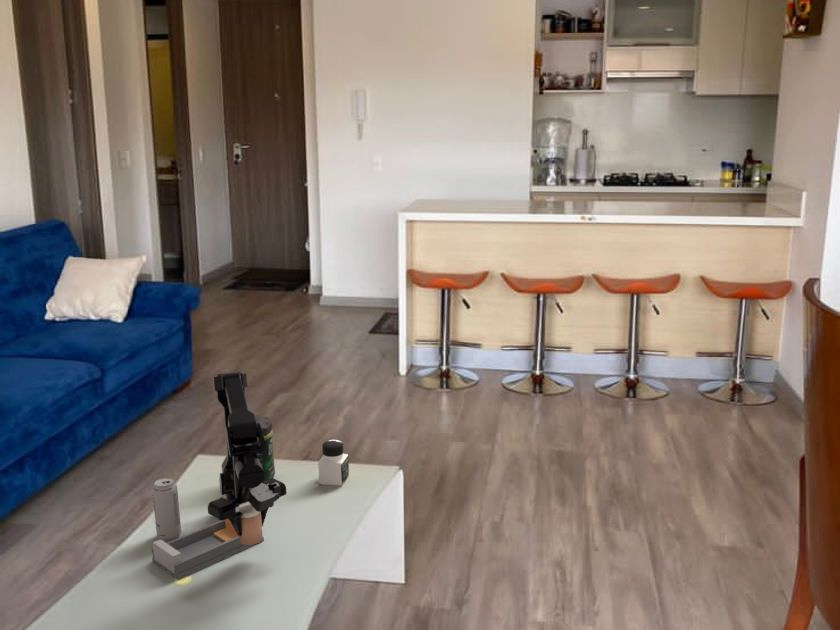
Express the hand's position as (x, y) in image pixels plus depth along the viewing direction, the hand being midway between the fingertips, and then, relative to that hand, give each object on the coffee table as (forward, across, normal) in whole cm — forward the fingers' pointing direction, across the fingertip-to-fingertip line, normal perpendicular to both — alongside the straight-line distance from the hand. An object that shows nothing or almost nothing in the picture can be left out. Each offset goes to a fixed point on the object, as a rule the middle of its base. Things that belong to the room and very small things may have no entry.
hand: (250, 531), depth 191 cm
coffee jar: (+8, +28, +36) cm, 46 cm away
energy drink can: (+8, -8, +25) cm, 27 cm away
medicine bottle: (+8, +42, +19) cm, 47 cm away
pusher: (+6, +1, +11) cm, 13 cm away
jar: (+2, 0, 0) cm, 2 cm away
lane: (+7, -5, +11) cm, 14 cm away
